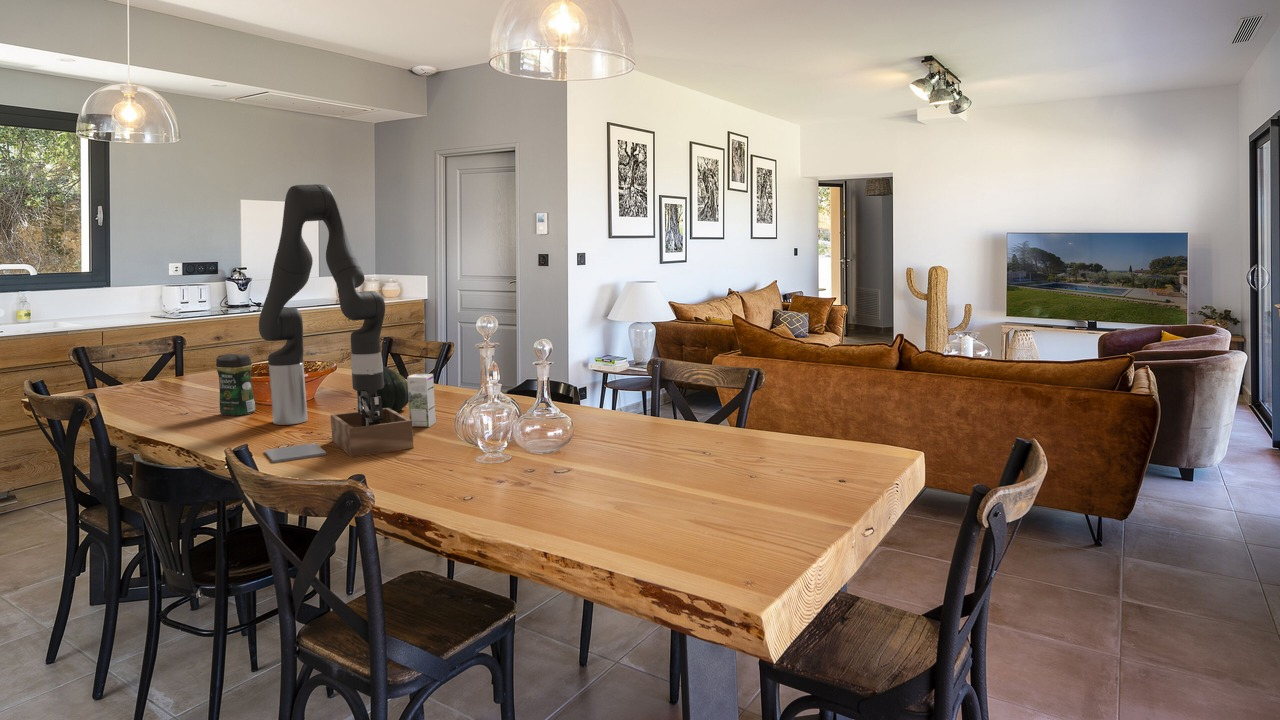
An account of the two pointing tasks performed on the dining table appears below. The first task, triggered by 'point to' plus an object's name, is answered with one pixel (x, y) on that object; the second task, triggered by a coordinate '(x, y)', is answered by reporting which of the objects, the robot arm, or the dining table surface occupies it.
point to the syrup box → (421, 400)
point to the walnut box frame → (371, 433)
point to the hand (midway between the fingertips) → (371, 433)
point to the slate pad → (294, 452)
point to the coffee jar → (235, 384)
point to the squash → (393, 390)
